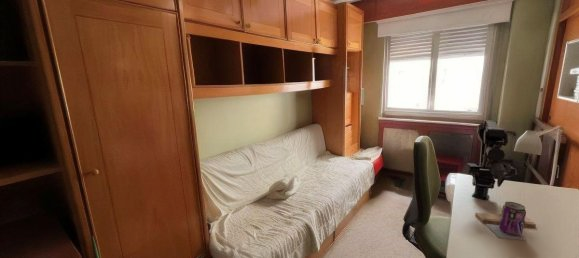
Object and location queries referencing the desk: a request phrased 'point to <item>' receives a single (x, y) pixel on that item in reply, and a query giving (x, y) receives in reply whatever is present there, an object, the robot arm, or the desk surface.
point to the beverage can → (512, 218)
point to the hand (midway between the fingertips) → (487, 185)
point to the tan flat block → (497, 217)
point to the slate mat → (502, 233)
